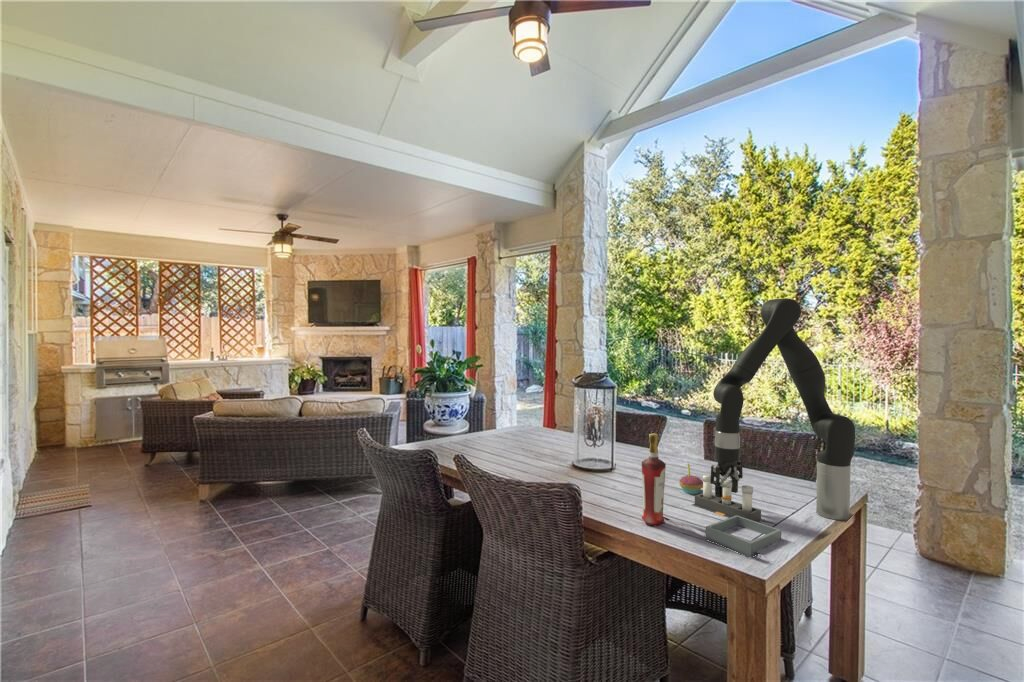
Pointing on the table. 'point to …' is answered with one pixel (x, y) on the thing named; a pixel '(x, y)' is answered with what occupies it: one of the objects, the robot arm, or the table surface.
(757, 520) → the fuse block
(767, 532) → the tray
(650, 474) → the liquor
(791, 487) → the table surface
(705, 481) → the cylinder
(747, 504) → the cylinder
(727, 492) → the cylinder
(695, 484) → the cupcake
